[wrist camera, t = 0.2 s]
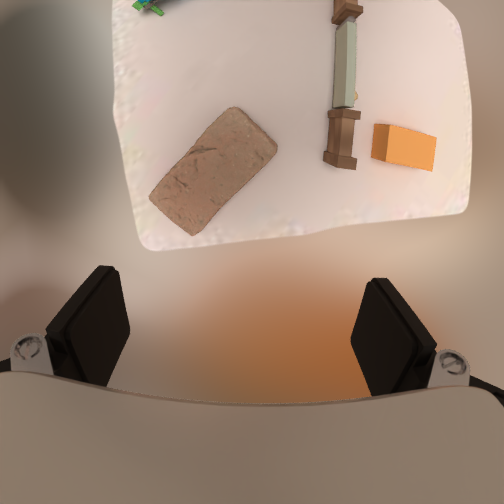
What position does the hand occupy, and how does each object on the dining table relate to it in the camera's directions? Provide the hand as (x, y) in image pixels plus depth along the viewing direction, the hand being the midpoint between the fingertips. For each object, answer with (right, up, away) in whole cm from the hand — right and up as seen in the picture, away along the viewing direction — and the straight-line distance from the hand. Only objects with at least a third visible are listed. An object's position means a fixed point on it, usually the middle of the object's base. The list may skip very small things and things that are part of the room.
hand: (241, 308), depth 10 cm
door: (+13, +27, +21) cm, 37 cm away
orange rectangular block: (+22, +18, +26) cm, 38 cm away
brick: (-5, +14, +28) cm, 31 cm away
